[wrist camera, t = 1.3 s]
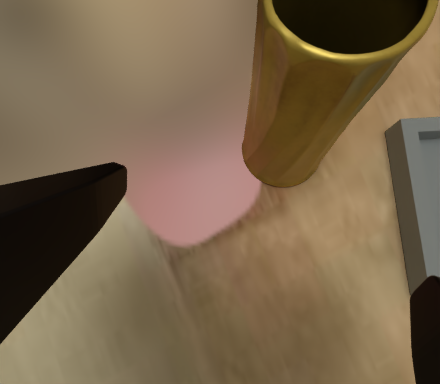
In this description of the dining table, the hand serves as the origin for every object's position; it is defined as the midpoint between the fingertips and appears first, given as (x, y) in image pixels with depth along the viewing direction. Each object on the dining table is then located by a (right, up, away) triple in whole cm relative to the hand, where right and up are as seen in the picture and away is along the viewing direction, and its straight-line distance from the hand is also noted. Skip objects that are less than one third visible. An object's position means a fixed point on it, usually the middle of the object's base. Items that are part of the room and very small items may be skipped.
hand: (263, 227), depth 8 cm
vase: (+4, +4, +14) cm, 15 cm away
